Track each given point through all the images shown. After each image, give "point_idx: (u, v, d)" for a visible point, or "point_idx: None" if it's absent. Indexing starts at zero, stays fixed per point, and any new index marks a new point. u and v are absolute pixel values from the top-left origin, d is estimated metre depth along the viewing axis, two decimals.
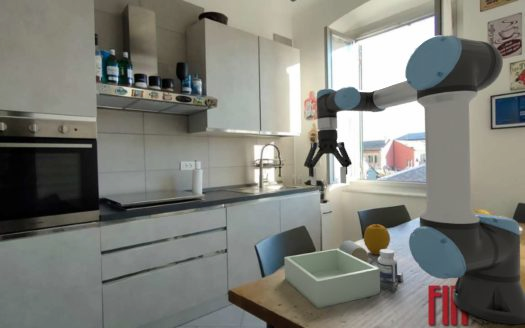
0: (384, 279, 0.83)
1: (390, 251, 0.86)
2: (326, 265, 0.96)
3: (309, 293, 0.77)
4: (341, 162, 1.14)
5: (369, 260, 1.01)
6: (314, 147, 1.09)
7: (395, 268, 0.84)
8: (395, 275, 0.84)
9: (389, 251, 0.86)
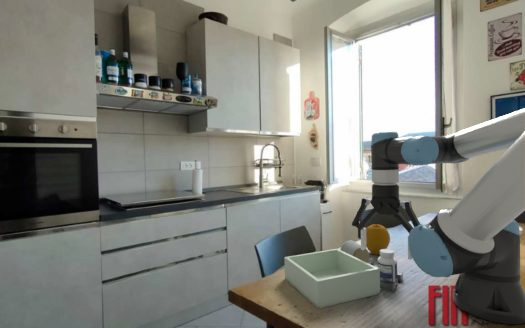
0: (384, 279, 0.83)
1: (390, 251, 0.86)
2: (326, 265, 0.96)
3: (309, 293, 0.77)
4: None
5: (371, 260, 1.02)
6: (362, 204, 0.90)
7: (395, 268, 0.84)
8: (395, 275, 0.84)
9: (389, 251, 0.86)
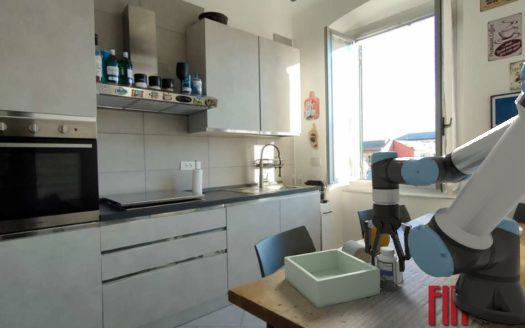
0: (384, 279, 0.83)
1: (391, 248, 0.86)
2: (326, 265, 0.96)
3: (309, 293, 0.77)
4: None
5: None
6: (365, 228, 0.89)
7: None
8: None
9: (389, 248, 0.86)
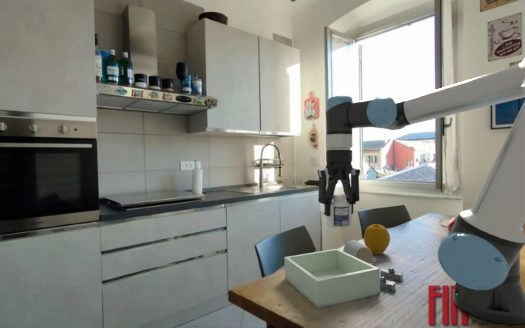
0: (384, 279, 0.83)
1: (341, 194, 0.87)
2: (326, 265, 0.96)
3: (309, 293, 0.77)
4: (347, 196, 0.87)
5: (374, 259, 1.02)
6: (323, 177, 0.83)
7: None
8: None
9: (341, 194, 0.87)
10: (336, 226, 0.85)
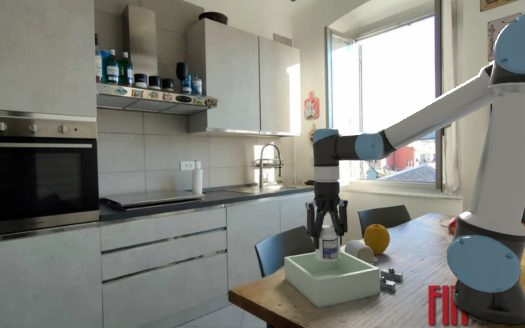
0: (384, 279, 0.83)
1: (329, 225, 0.86)
2: (326, 265, 0.96)
3: (309, 293, 0.77)
4: (336, 227, 0.87)
5: (375, 259, 1.02)
6: (311, 210, 0.83)
7: None
8: None
9: (329, 226, 0.86)
10: (325, 259, 0.84)
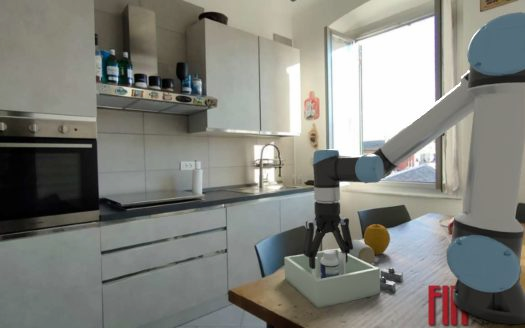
0: (384, 279, 0.83)
1: (331, 250, 0.86)
2: None
3: (309, 293, 0.77)
4: (340, 245, 0.87)
5: (376, 259, 1.02)
6: (311, 229, 0.82)
7: None
8: None
9: (331, 251, 0.86)
10: None
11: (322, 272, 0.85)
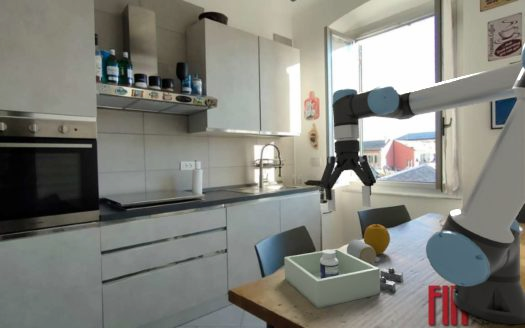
0: (384, 279, 0.83)
1: (331, 250, 0.87)
2: None
3: (309, 293, 0.77)
4: (363, 180, 0.91)
5: (377, 259, 1.02)
6: (332, 162, 0.85)
7: None
8: None
9: (331, 251, 0.86)
10: None
11: (322, 272, 0.85)
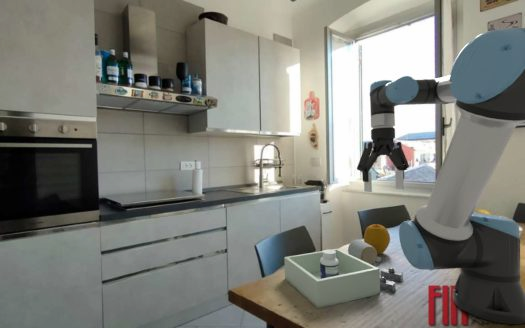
0: (384, 279, 0.83)
1: (331, 250, 0.86)
2: None
3: (309, 293, 0.77)
4: (397, 165, 0.99)
5: (378, 259, 1.02)
6: (369, 148, 0.94)
7: None
8: None
9: (331, 251, 0.86)
10: None
11: (322, 272, 0.85)
